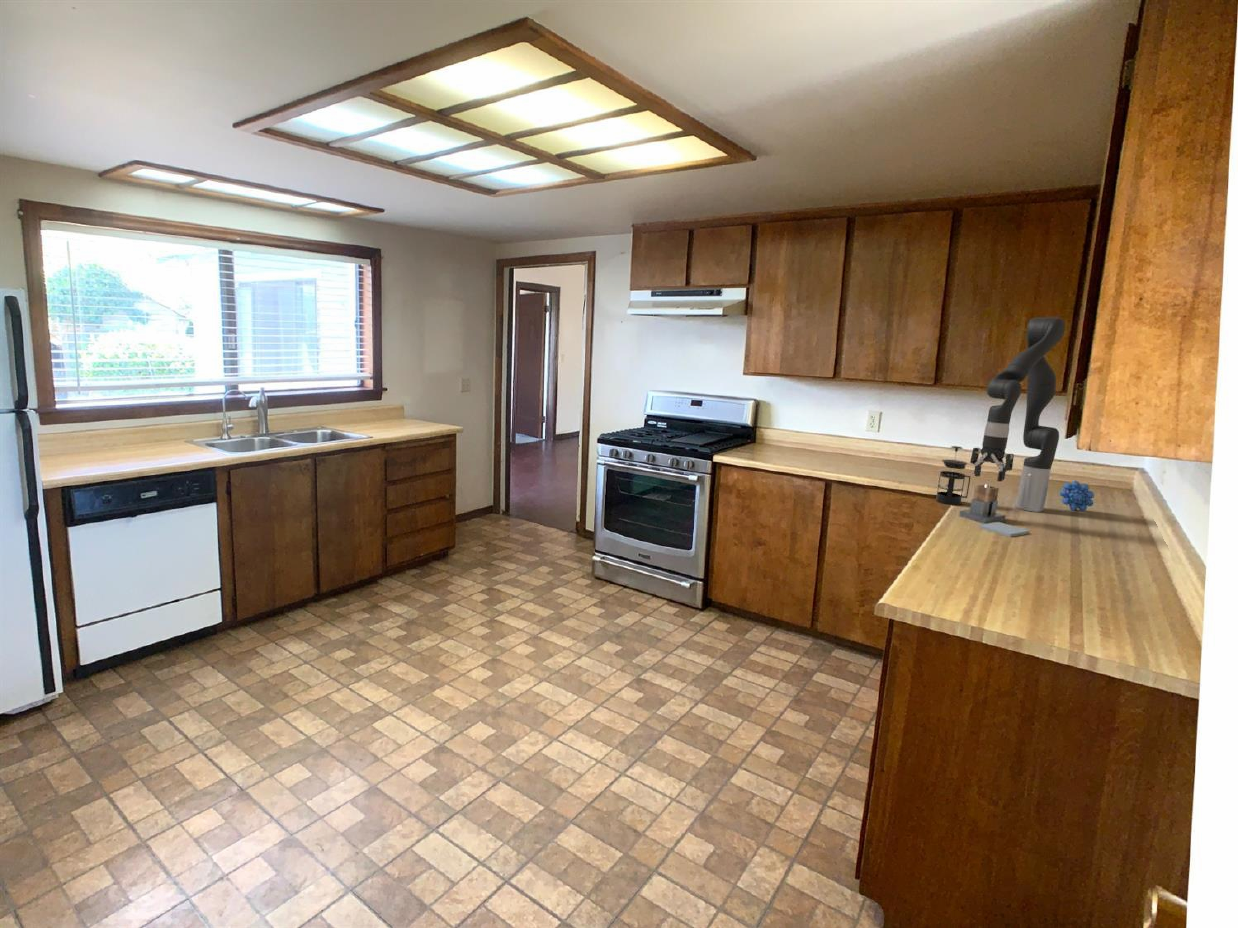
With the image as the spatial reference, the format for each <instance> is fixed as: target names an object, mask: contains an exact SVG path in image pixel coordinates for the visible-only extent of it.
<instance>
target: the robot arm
mask: <svg viewBox="0 0 1238 928" xmlns="http://www.w3.org/2000/svg"><path fill="white" fill-rule="evenodd" d="M1065 332H1066V322H1065V321H1064V320H1063V319H1062V318H1060V317H1033V318H1030V320H1029V321H1028V324H1027V326H1026V333H1025V334H1026V336H1025V337H1026V348H1025V350H1023V351H1021V352H1020V353H1018V354H1017V355H1016V356H1014V358H1013V359H1011V361H1010V363H1009V364H1008V366H1007V367H1006V368H1005V369H1004V370H1002V371H1001V372H999V373H998V374H997V375H996V376H995V377H993V378H992V379H991V380H990V382H989V383H988V384H987V386H986V394H987V396H988V397H990V398H992V399H998V400H1004V401H1003V402H1002V404H999V405H998V404H997V405H992V406H990V408H989V410H988V416H987V420H986V424H985V428H984V434H983V438H982V444H981V445H982V447H973V448H972V453H971V458H970V462H969V463H970V464H972V465H974V470H973V474H974V477H980V476H981V472H982V466H983V464H984V463H992V464H995V465H996V466H997V468H998V470H999V471H998V474H997V480H996V481H997V482H1002V481H1004V480H1005V478H1006V472H1008V471H1012V470H1013V465H1014V453H1006V448H1007V444H1008V438H1009V433H1010V423H1011V417H1012V413H1013V410H1014V408H1015V406H1016V403H1017V401H1018V400H1019V398H1020V396H1021V394H1022V391H1023V389H1022V384H1021V382H1024V381H1025V379H1026V411H1025V412H1026V413H1025V418H1024V426H1023V433H1022V434H1023V435H1022V439H1023V445H1024V447H1026V448H1029V449H1034V450H1038V451H1040V452H1039V454H1037V455H1035V456H1030V457H1025V458H1024V460H1023V464H1022V465H1023V466H1022V470H1021V471H1022V472H1021V477H1020V481H1019V482H1020V483H1019V488H1018V492H1017V493H1018V494H1017V497H1016V498H1017V499H1016V502H1015V503H1016V504H1015V507H1016V508H1017V509H1019V510H1023V511H1029V512H1036V513H1040V512H1043V511H1044V510H1045V505H1046V499H1047V494H1048V489H1049V486H1048V485H1049V481H1050V476H1051V471H1052V466H1053V463H1054V460H1055V456H1056V453H1057V448H1058V444H1059V440H1060V432H1059V430H1058V428H1056V427H1051V426H1043V425H1040V423H1039V422H1040V416H1041V414H1042V412H1043V411H1044V409H1045V408H1046V407H1047V406H1048V404H1050V403H1051V401H1052V400H1053V398H1054V397H1055V394H1056V387H1057V377H1056V374H1055V371H1054V370H1053V367H1051V365H1050V364H1049V362H1048V360H1047V359H1046V358H1045V356H1046V355H1047V354H1048V353H1049V352H1050V351H1051V350H1052V349H1053V348H1054V347H1055V346H1056V345H1057V344H1058V343H1059V342H1060V341H1061V340H1062V338H1063V337H1064V335H1065ZM980 454H981V456H980ZM979 456H980V457H979ZM1004 459H1005V461H1004Z"/></svg>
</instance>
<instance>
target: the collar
mask: <svg viewBox="0 0 1238 928" xmlns="http://www.w3.org/2000/svg"><path fill="white" fill-rule="evenodd" d="M999 489H1000V488H999V487H996V486H992V485H991V486H990V488H986V487H984V484H978V485H974V492H973V498H972V499H976V500H980V501H984V502H995V501H998V496H999V491H1000V490H999Z"/></svg>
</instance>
